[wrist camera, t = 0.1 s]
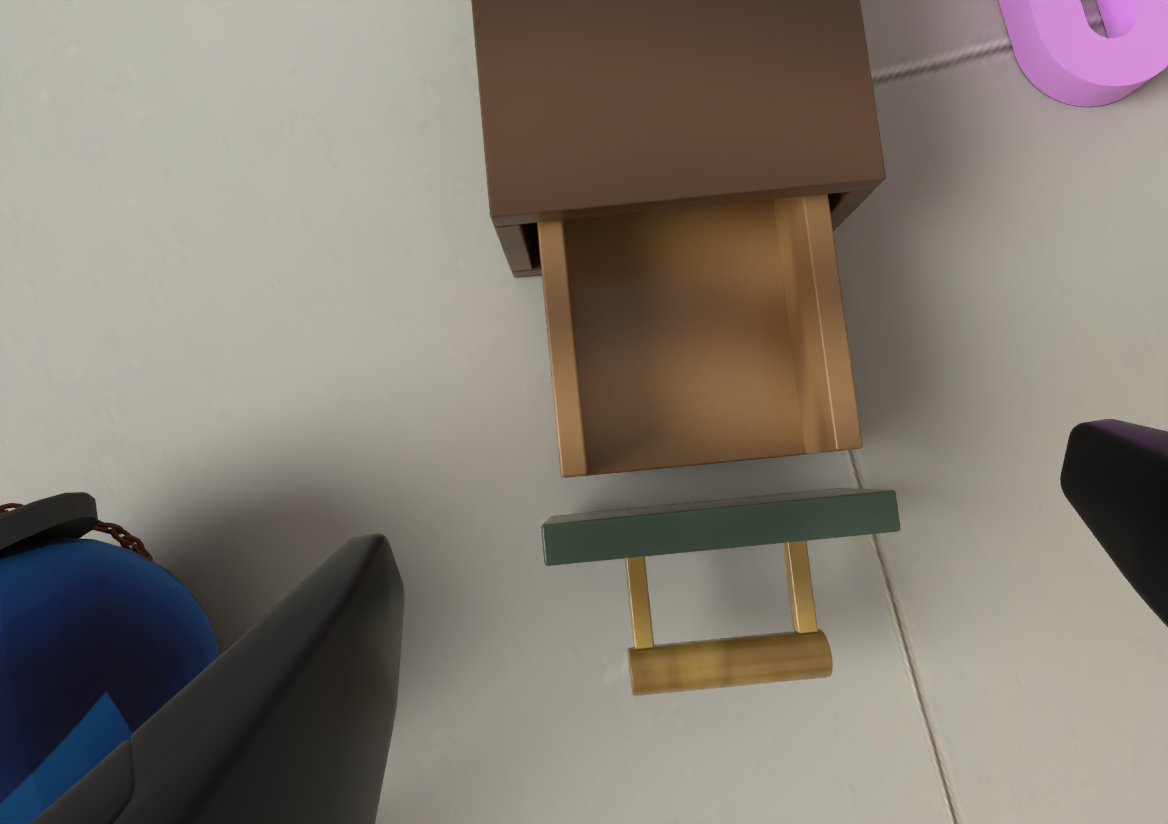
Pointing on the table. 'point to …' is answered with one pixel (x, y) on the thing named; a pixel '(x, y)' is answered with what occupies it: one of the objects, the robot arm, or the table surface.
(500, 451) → the table surface
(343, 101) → the table surface
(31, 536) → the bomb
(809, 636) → the drawer
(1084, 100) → the bracket
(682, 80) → the cabinet
